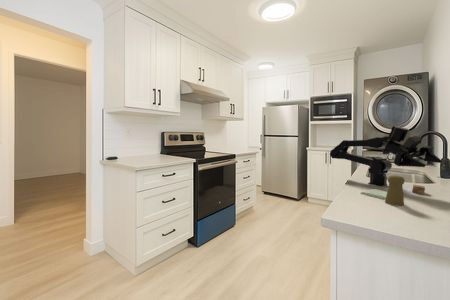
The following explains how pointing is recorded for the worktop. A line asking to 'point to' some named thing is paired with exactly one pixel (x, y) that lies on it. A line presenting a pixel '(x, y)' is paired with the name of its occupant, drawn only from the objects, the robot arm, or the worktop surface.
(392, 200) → the cork
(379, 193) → the baseplate
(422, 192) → the brick
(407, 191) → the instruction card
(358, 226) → the worktop surface
